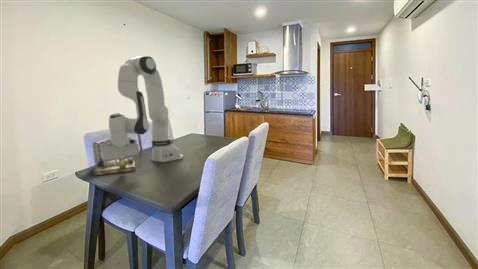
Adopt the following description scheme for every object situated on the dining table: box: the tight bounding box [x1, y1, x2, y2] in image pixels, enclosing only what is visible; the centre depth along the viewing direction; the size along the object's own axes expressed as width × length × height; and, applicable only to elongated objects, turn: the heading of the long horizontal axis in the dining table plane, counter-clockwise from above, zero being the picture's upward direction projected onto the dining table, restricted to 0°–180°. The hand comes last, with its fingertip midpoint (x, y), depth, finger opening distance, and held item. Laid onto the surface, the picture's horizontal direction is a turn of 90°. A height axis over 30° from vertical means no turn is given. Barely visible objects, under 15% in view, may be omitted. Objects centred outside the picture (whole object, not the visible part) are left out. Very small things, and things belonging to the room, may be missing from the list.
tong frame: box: [98, 157, 134, 163], centre depth 150 cm, size 20×3×3 cm, turn 114°
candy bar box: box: [92, 138, 114, 167], centre depth 155 cm, size 11×5×16 cm, turn 168°
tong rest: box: [93, 160, 136, 176], centre depth 148 cm, size 22×13×2 cm, turn 114°
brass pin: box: [118, 157, 126, 170], centre depth 140 cm, size 3×3×7 cm
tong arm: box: [98, 161, 129, 167], centre depth 149 cm, size 17×2×2 cm, turn 114°
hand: (122, 164), depth 140 cm, fingers closed on brass pin, 3 cm apart
